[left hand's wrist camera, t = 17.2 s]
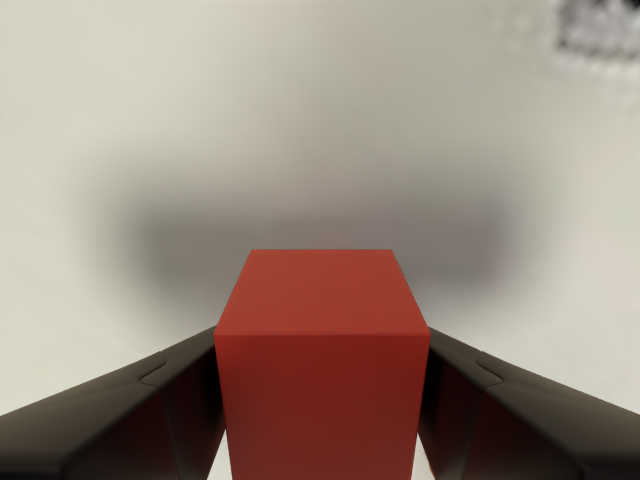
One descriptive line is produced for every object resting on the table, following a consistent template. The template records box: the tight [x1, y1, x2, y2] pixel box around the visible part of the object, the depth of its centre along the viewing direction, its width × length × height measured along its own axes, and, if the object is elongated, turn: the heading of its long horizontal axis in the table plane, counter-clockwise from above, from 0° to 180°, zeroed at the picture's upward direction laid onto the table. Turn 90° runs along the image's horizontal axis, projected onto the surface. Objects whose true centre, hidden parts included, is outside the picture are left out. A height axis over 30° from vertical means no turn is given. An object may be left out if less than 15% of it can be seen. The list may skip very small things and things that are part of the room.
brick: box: [213, 250, 431, 480], centre depth 11 cm, size 5×5×4 cm
